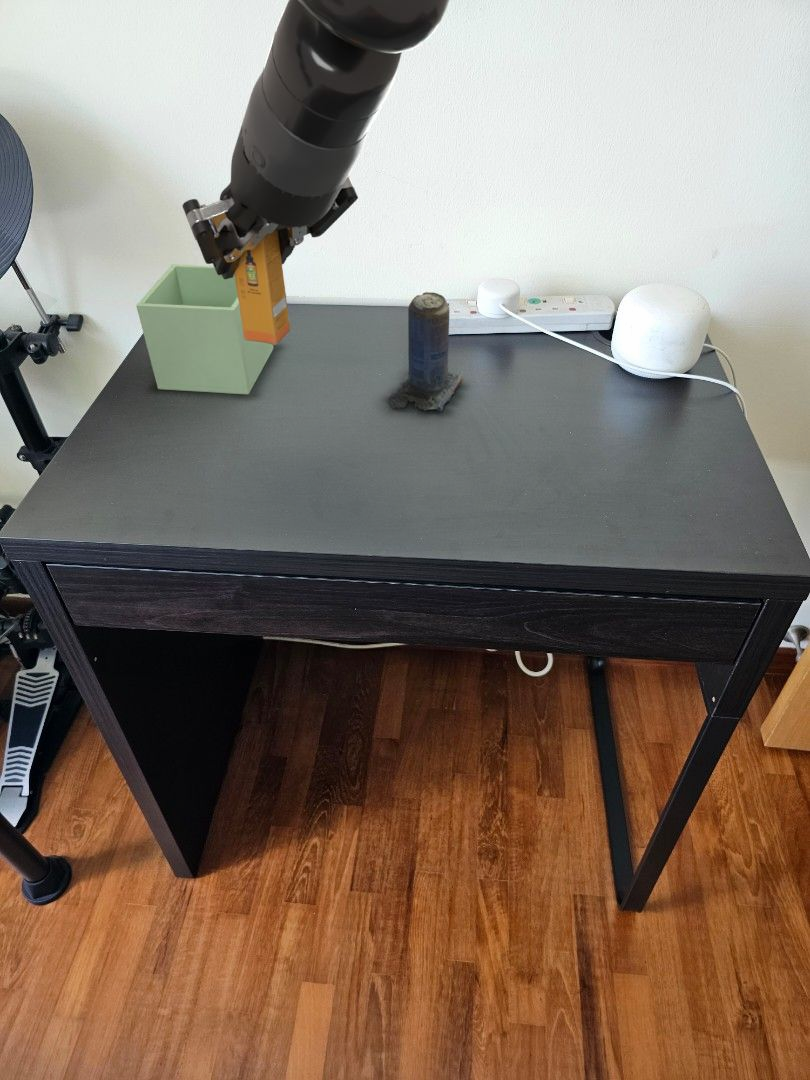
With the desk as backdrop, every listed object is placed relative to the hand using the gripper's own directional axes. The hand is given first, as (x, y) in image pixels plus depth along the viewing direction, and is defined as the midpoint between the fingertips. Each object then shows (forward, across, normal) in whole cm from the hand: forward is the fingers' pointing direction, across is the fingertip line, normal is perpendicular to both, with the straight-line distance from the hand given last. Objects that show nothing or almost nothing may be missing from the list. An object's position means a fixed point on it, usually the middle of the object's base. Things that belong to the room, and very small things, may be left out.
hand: (248, 261), depth 67 cm
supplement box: (+3, 0, +6) cm, 7 cm away
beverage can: (+18, -21, +13) cm, 30 cm away
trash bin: (+31, -3, -1) cm, 32 cm away
